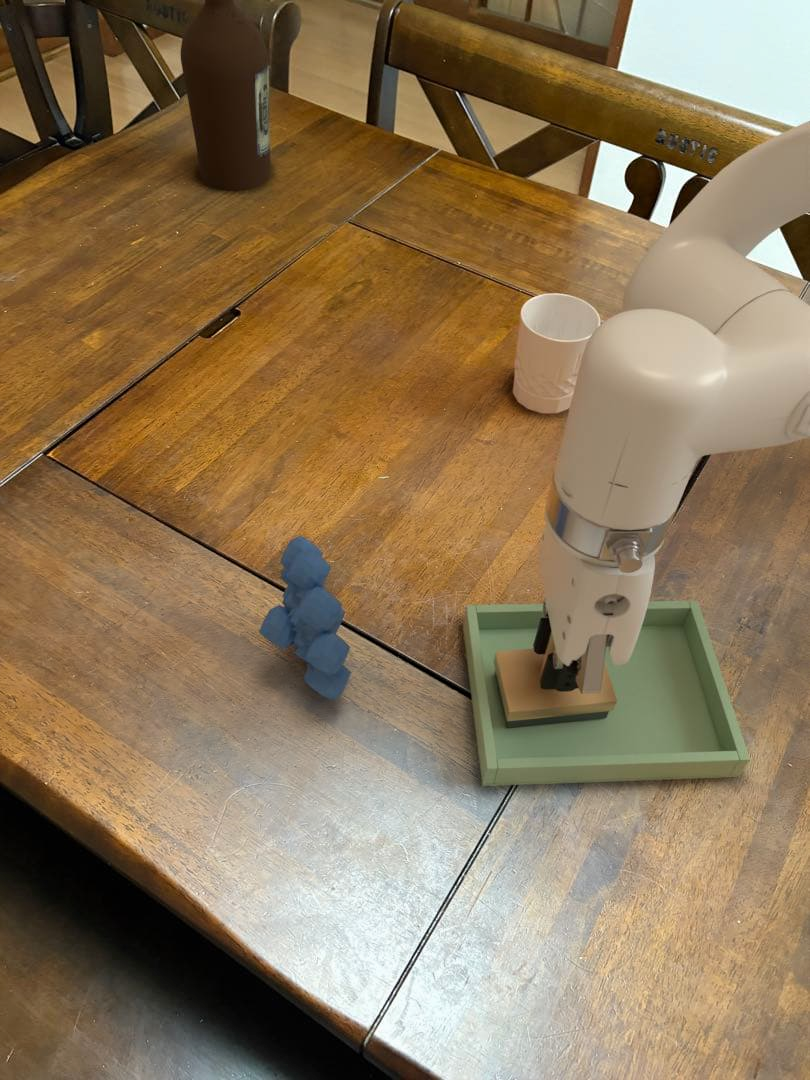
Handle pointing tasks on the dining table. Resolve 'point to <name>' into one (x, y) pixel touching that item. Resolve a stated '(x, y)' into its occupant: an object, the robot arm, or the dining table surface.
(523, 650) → the brush
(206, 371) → the dining table surface
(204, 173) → the olive oil
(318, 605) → the grapes
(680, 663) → the tray
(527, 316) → the white cup
